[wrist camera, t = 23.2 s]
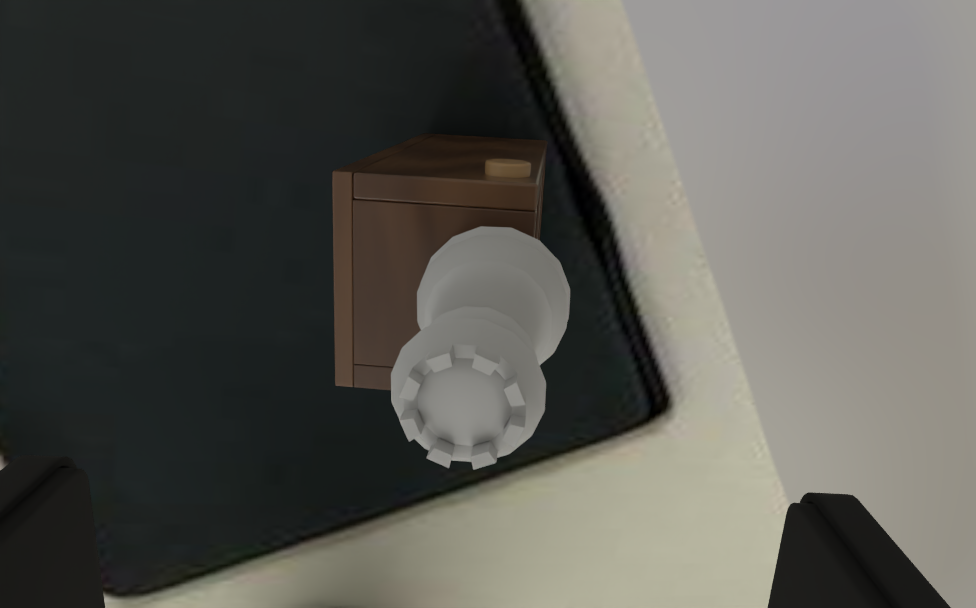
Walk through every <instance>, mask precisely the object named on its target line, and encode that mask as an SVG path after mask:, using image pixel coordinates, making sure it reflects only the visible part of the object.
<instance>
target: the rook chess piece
mask: <svg viewBox="0 0 976 608" xmlns="http://www.w3.org/2000/svg"><path fill="white" fill-rule="evenodd" d="M569 305H570V288H569V285H568V282H567V280H566V277H565V274H564V271H563V269H562V266H561V263H560V262H559V261H558V259H557V258H556V257H555V256H554V255H553V254H552V253H551V252H550V251H549V250H548V249H547V248H546V247H545V246H544V245H543V244H542V243H541V241H540V240H538V239H536V238H533V237H531V236H529V235H527V234H524V233H522V232H520V231H518V230H516V229H513V228H510V227H483V226H480V227H478V228H475V229H472V230H470V231H467V232H464V233H462V234H459V235H456V236H453V237H452V238H451V239H450V240H449V241H448V242H447V243H446V244H444V245H443V246H442V247H441V248H440V249H439V250H438V251H437V252H436V253H435V254H434V255H433V256H432V257H431V259H430V261H429V264H428V266H427V268H426V271H425V273H424V275H423V278H422V280H421V282H420V286H419V289H418V291H417V321H418V325H419V327H420V329H421V331H420V332H419V333H418V334H416V335H415V336H414V337H413V338H412V339H411V340H410V341H409V342H408V343H407V344H406V345H404V346H403V347H402V349H401V351H400V354H399V356H398V358H397V361H396V363H395V365H394V368H393V370H392V372H391V402H392V404H393V406H394V409H395V411H396V413H397V415H398V417H399V421H400V423H401V425H402V427H403V430H404V432H405V434H406V436H407V438H408V441H411V440H413V439H415V440H416V441H417V442H418V443H419V444H420V445H421V446H422V447H424V448H425V449H427V450H429V452H428V455H427V459H429V460H431V461H434V462H436V463H438V464H440V465H443V466H445V467H447V468H449V466H450V462H451V460H453V461H468V462H472V466H473V470H474V469H478V468H481V467H484V466H487V465H491V464H494V463H496V461H497V458H498V457H501V456H504V455H507V454H510V453H511V452H512V451H514V450H515V449H516V448H517V447H519V446H520V445H521V444H522V443H524V442H525V441H526V440H527V439H529V438H530V437H531V436H532V434H533V433H534V431H535V429H536V427H537V425H538V423H539V421H540V419H541V417H542V415H543V413H544V411H545V394H546V381H545V378H544V376H543V373H542V371H541V368H540V366H539V365H540V364H542V363H543V362H544V361H545V360H546V359H548V358H549V357H550V356H551V355H552V354H553V353H554V352H555V350H556V348H557V346H558V344H559V342H560V340H561V338H562V336H563V334H564V332H565V330H566V328H567V321H568V319H569Z"/></svg>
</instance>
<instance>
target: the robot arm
mask: <svg viewBox="0 0 976 608" xmlns="http://www.w3.org/2000/svg"><path fill="white" fill-rule="evenodd" d="M0 608H105V604H104V596H103V588H102V581H101V573H100V565H99V557H98V550H97V542H96V534H95V526H94V519H93V511H92V503H91V496H90V488H89V480H88V476H87V474H86V472H85V471H84V470H82V469H77V468H76V465H75V463H74V462H73V460H72V459H70V458H68V457H55V456H34V455H23V456H20V457H18V458H16V459H14V460H13V461H12V462H11V463H9V464H8V465H7V466H6V467H4V468H3V469H2V470H1V471H0ZM768 608H950V606H949V605H948V604H947V603H946V602H945V601H944V600H943V598H942V597H941V596H940V595H939V594H938V593H937V591H936V590H935V589H934V588H933V587H932V585H931V584H930V583H929V582H928V581H927V580H926V578H925V577H924V576H923V575H922V574H921V573H920V571H919V570H918V569H917V568H916V567H915V566H914V564H913V563H912V562H911V561H910V560H909V559H908V557H907V556H906V555H905V554H904V553H903V552H902V550H901V549H900V548H899V547H898V546H897V545H896V544H895V542H894V541H893V540H892V539H891V538H890V536H889V535H888V534H887V533H886V532H885V531H884V529H883V528H882V527H881V526H880V525H879V524H878V522H877V521H876V520H875V519H874V518H873V517H872V515H870V513H869V512H868V511H867V510H866V508H865V507H864V506H863V505H862V504H861V503H860V501H859V500H858V499H857V498H855V497H854V496H853V495H848V494H828V493H807V494H805V495H804V496H803V497H802V499H801V501H800V503H792V504H791V505H790V506H789V508H788V511H787V514H786V519H785V524H784V529H783V534H782V539H781V544H780V549H779V554H778V559H777V564H776V569H775V574H774V579H773V584H772V589H771V594H770V599H769V604H768Z"/></svg>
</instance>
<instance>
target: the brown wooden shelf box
mask: <svg viewBox="0 0 976 608" xmlns="http://www.w3.org/2000/svg"><path fill="white" fill-rule="evenodd" d="M546 150H547V141H545V140H528V139H512V138H495V137H478V136H461V135H445V134H436V135H435V134H429V133H424V134H421V135H419V136H416V137H414V138H412V139H409V140H407V141H404V142H402V143H400V144H397V145H395V146H392V147H390V148H388V149H385V150H383V151H380V152H378V153H376V154H373V155H371V156H368V157H366V158H364V159H361V160H359V161H356V162H354V163H351V164H349V165H347V166H344V167H342V168H339V169H337V170H335V171H333V172H332V184H333V258H334V332H335V385H336V386H347V387H353V386H354V387H358V388H370V389H382V390H391V372H392V370H393V368H394V365H395V363H396V361H397V358H398V356H399V354H400V351H401V349H402V347H403V346H404V345H406V344H407V343H408V342H409V341H410V340H411V339H412V338H413V337H414V336H415V335H416V334H418V333H419V332H420V331H421V329H420V327H419V325H418V321H417V291H418V289H419V286H420V282H421V280H422V278H423V275H424V273H425V271H426V268H427V266H428V264H429V261H430V259H431V257H432V256H433V255H434V254H435V253H436V252H437V251H438V250H439V249H440V248H441V247H442V246H443V245H444V244H446V243H447V242H448V241H449V240H450V239H451V238H452V237H453V236H456V235H459V234H462V233H464V232H467V231H470V230H472V229H475V228H478V227H480V226H483V227H510V228H513V229H516V230H518V231H520V232H522V233H524V234H527V235H529V236H531V237H533V238H536V239H538V240H540V231H541V218H542V204H543V191H544V177H545V163H546Z"/></svg>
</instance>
